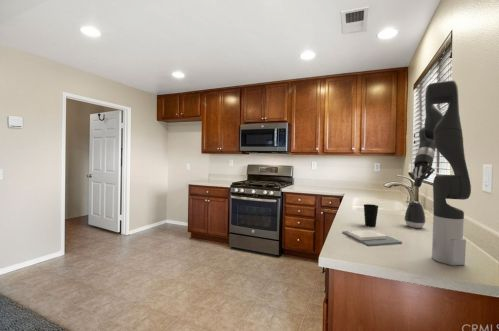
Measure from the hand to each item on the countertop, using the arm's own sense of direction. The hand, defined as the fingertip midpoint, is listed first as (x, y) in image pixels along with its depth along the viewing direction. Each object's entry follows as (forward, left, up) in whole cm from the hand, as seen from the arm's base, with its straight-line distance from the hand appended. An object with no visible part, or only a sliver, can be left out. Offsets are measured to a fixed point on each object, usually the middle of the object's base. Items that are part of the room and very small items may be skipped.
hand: (417, 186), depth 121 cm
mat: (+7, +19, -26) cm, 33 cm away
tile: (+7, +14, -25) cm, 29 cm away
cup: (+27, +3, -26) cm, 38 cm away
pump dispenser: (+20, -21, -26) cm, 39 cm away
